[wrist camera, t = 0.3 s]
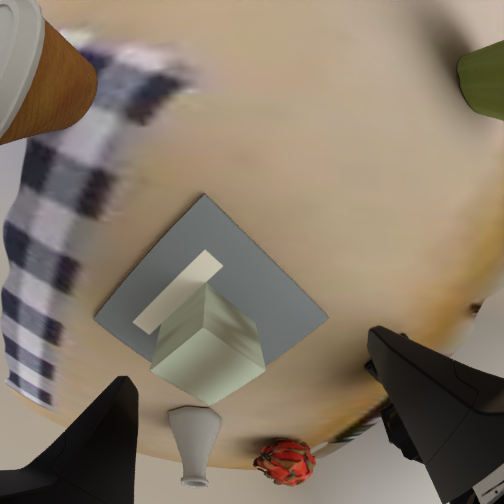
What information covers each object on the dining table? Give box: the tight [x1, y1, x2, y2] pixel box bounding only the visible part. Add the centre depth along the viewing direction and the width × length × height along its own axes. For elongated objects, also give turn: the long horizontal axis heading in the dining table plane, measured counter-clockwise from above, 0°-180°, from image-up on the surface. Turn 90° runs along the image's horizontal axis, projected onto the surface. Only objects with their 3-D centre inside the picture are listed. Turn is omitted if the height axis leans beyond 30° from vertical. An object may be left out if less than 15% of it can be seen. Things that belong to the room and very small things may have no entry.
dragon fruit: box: [253, 438, 316, 486], centre depth 32 cm, size 8×8×12 cm
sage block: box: [150, 282, 266, 406], centre depth 21 cm, size 6×6×6 cm
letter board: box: [93, 194, 329, 366], centre depth 24 cm, size 16×16×1 cm
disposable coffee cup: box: [0, 0, 98, 145], centre depth 9 cm, size 10×10×12 cm
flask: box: [168, 406, 222, 488], centre depth 25 cm, size 7×7×10 cm
